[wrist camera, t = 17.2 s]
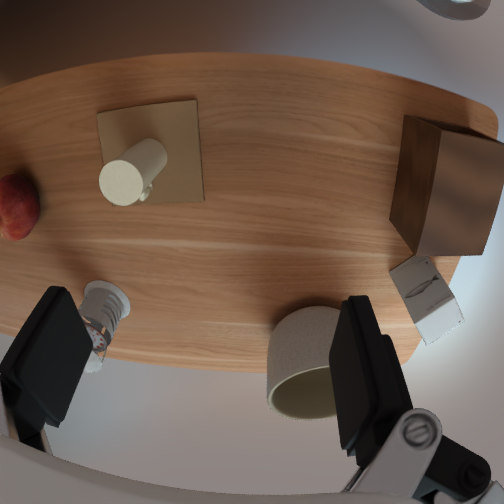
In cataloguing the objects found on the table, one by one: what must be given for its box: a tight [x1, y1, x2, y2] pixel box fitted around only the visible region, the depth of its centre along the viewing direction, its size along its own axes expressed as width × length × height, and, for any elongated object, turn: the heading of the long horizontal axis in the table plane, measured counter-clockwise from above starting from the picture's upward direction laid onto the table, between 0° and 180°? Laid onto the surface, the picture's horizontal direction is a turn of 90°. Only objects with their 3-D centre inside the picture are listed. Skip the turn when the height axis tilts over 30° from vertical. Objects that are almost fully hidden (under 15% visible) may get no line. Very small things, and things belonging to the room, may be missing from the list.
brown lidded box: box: [389, 115, 504, 256], centre depth 35 cm, size 16×12×10 cm
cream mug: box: [99, 138, 167, 206], centre depth 35 cm, size 7×5×10 cm
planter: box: [267, 306, 340, 421], centre depth 49 cm, size 17×17×15 cm
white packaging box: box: [389, 255, 464, 345], centre depth 44 cm, size 7×7×13 cm
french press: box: [78, 280, 130, 372], centre depth 44 cm, size 10×12×25 cm
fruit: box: [0, 174, 41, 241], centre depth 38 cm, size 11×10×10 cm
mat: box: [97, 99, 205, 206], centre depth 39 cm, size 14×14×1 cm
